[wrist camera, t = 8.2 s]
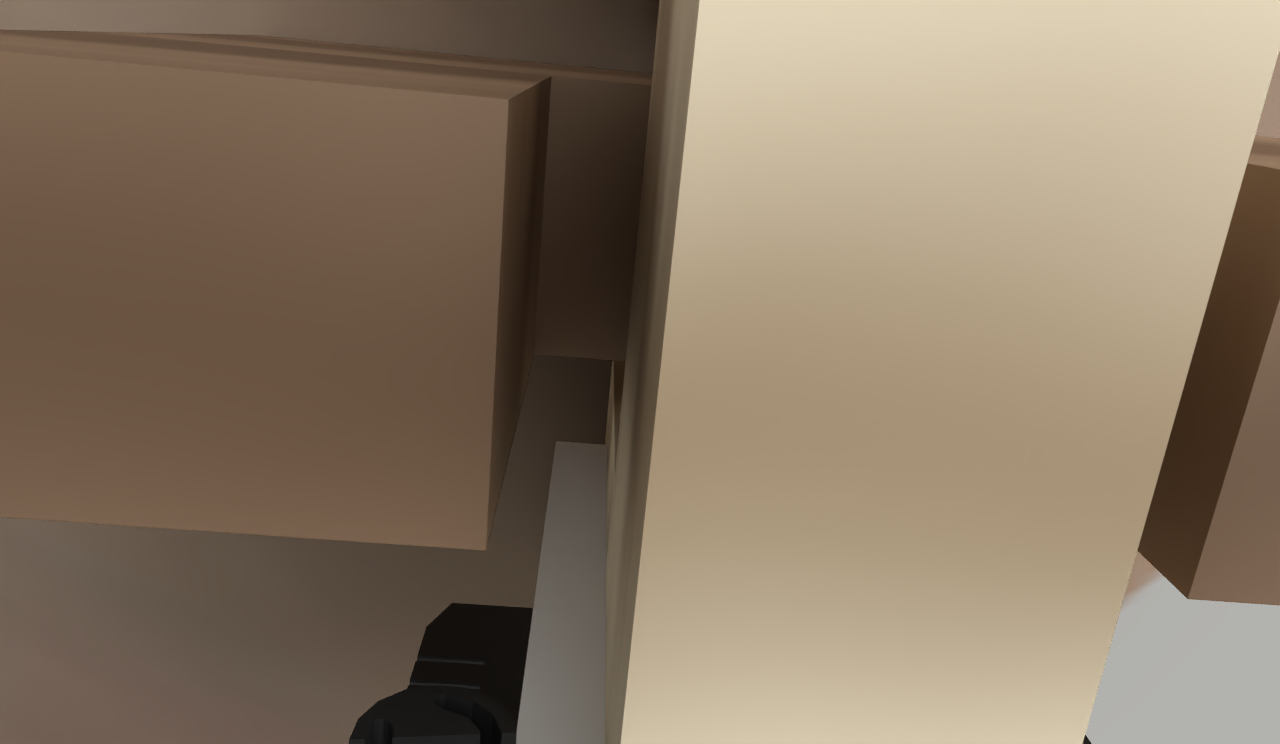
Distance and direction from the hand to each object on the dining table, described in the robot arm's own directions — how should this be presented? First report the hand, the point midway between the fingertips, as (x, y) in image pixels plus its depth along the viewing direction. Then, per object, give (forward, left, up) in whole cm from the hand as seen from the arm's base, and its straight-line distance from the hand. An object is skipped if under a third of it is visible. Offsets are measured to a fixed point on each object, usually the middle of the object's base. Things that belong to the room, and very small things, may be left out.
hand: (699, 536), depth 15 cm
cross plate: (-5, 0, -1) cm, 5 cm away
